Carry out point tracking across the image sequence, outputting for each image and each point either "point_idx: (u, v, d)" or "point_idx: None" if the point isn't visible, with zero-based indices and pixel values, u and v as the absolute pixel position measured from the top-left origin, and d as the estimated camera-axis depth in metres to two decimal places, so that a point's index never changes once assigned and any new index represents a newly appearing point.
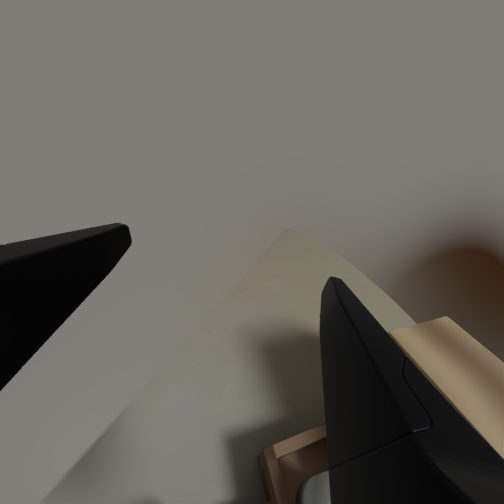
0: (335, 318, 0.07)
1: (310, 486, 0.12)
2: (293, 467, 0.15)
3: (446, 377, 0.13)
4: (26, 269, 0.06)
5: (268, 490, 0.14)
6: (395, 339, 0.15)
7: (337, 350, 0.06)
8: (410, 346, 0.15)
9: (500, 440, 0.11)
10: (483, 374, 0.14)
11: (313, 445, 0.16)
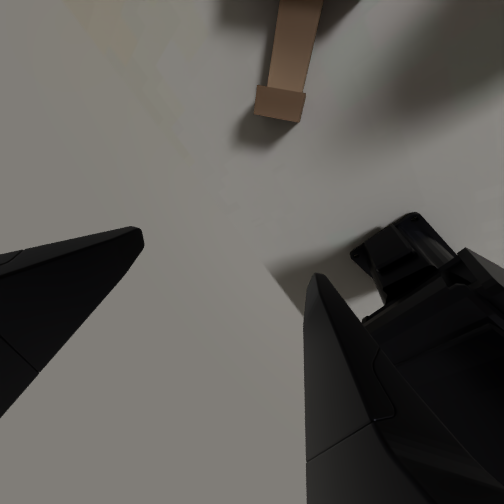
0: (316, 313, 0.07)
1: None
2: None
3: None
4: (45, 274, 0.06)
5: None
6: None
7: (316, 344, 0.06)
8: None
9: None
10: None
11: None
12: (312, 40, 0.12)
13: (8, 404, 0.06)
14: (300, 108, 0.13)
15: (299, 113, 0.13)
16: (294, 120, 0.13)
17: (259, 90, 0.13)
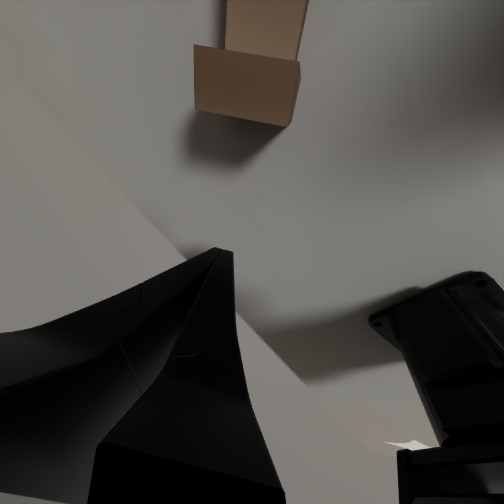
0: None
1: None
2: None
3: None
4: (167, 309, 0.05)
5: None
6: None
7: None
8: None
9: None
10: None
11: None
12: None
13: None
14: (288, 96, 0.06)
15: (287, 107, 0.06)
16: (277, 122, 0.06)
17: (199, 57, 0.06)
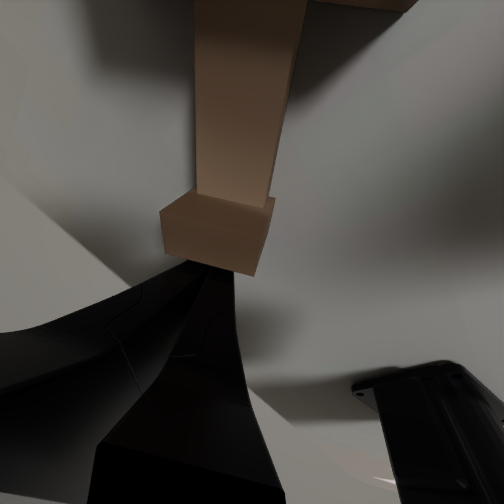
0: None
1: None
2: None
3: None
4: (167, 309, 0.05)
5: None
6: None
7: None
8: None
9: None
10: None
11: None
12: (277, 118, 0.05)
13: None
14: (254, 257, 0.06)
15: (253, 264, 0.06)
16: (245, 272, 0.06)
17: (166, 221, 0.06)
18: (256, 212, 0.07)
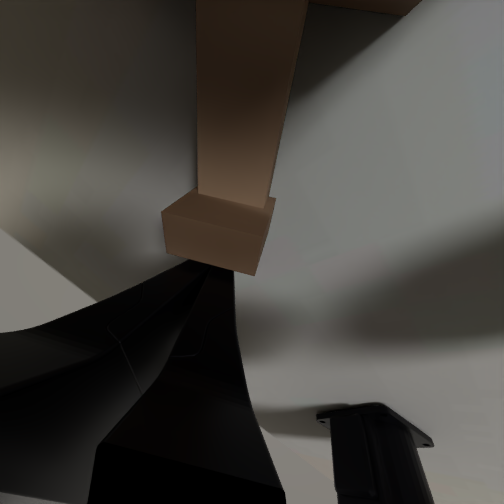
0: None
1: None
2: None
3: None
4: (167, 309, 0.05)
5: None
6: None
7: None
8: None
9: None
10: None
11: None
12: (278, 119, 0.05)
13: None
14: (255, 257, 0.06)
15: (254, 264, 0.06)
16: (246, 272, 0.06)
17: (167, 221, 0.06)
18: (257, 212, 0.07)
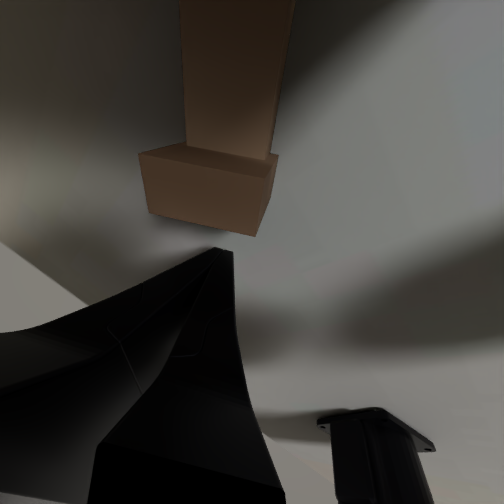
0: None
1: None
2: None
3: None
4: (167, 309, 0.05)
5: None
6: None
7: None
8: None
9: None
10: None
11: None
12: (281, 31, 0.04)
13: None
14: (255, 210, 0.05)
15: (254, 220, 0.05)
16: (244, 232, 0.05)
17: (146, 166, 0.05)
18: (256, 162, 0.06)
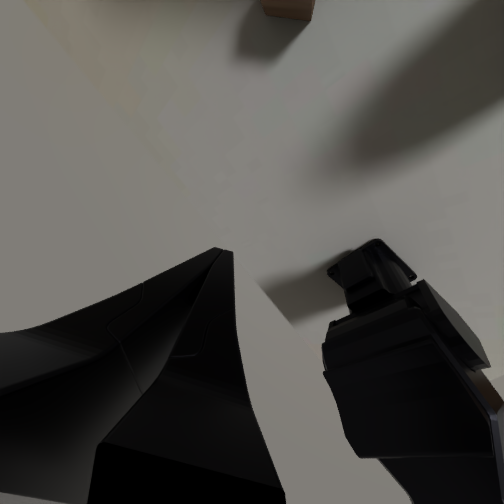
0: None
1: None
2: None
3: None
4: (167, 309, 0.05)
5: None
6: None
7: None
8: None
9: None
10: None
11: None
12: None
13: None
14: None
15: None
16: None
17: None
18: None
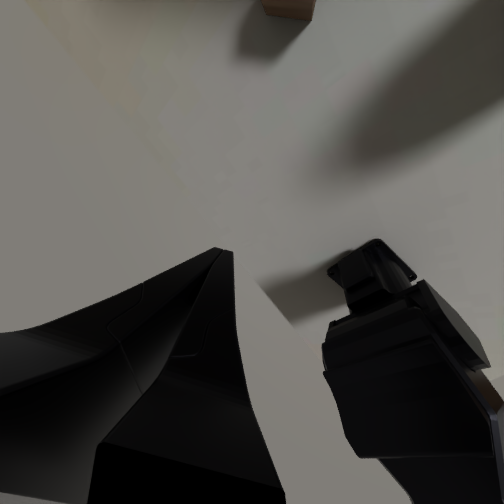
0: None
1: None
2: None
3: None
4: (167, 309, 0.05)
5: None
6: None
7: None
8: None
9: None
10: None
11: None
12: None
13: None
14: None
15: None
16: None
17: None
18: None
